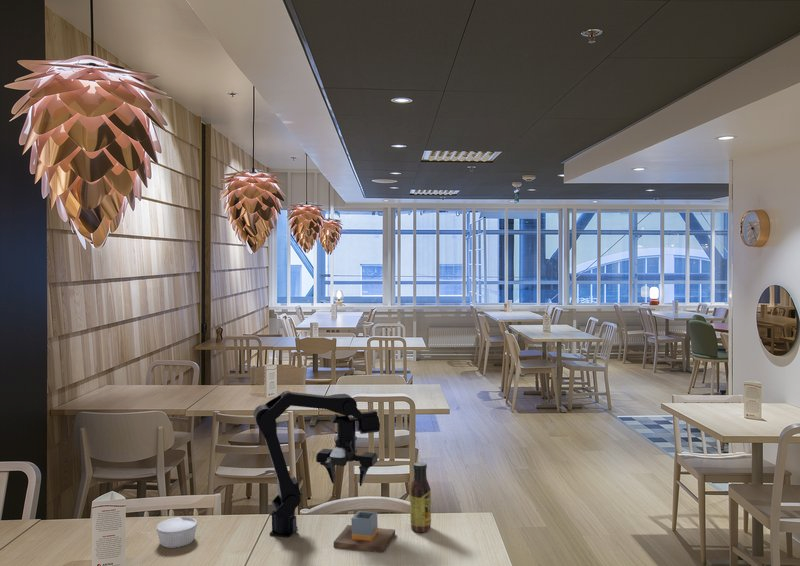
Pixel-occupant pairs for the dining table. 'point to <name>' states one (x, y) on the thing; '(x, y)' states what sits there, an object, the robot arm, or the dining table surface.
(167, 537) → the ramekin
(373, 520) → the sleeve
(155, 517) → the dining table surface
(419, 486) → the sauce bottle
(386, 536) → the pin board
